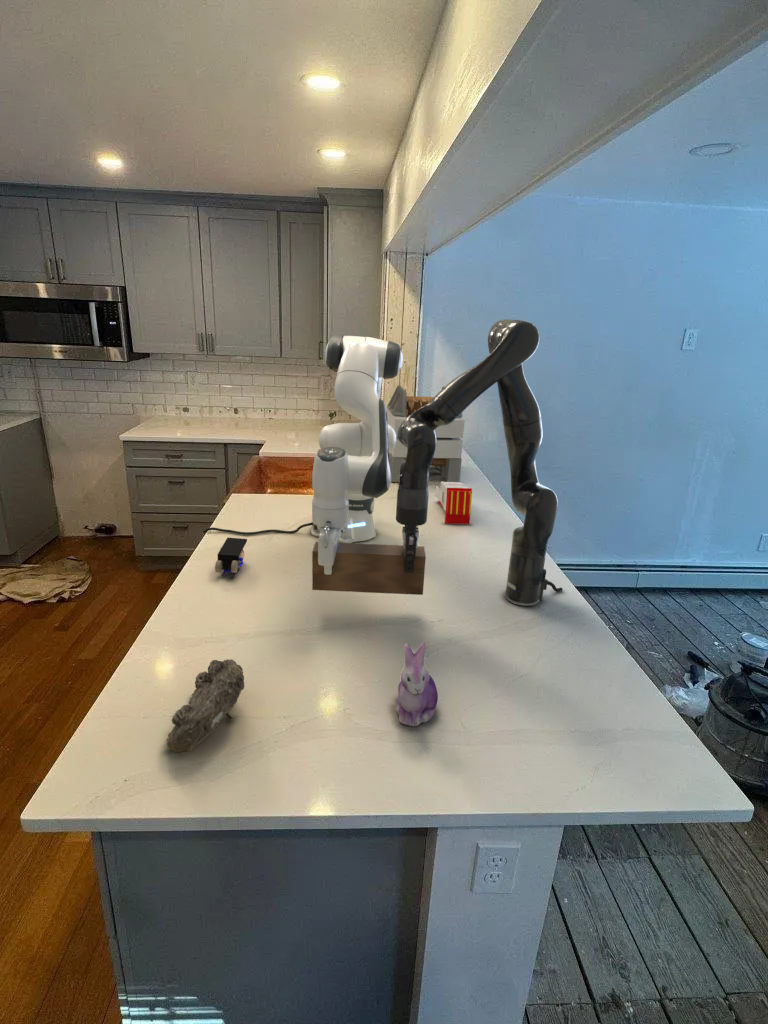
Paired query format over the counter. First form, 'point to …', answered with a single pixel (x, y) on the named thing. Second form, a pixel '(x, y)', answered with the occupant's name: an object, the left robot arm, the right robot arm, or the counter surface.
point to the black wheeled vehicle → (230, 556)
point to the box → (370, 570)
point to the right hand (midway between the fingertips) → (408, 565)
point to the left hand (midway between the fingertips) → (329, 566)
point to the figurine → (416, 689)
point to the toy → (455, 502)
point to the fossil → (206, 705)
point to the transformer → (446, 437)
